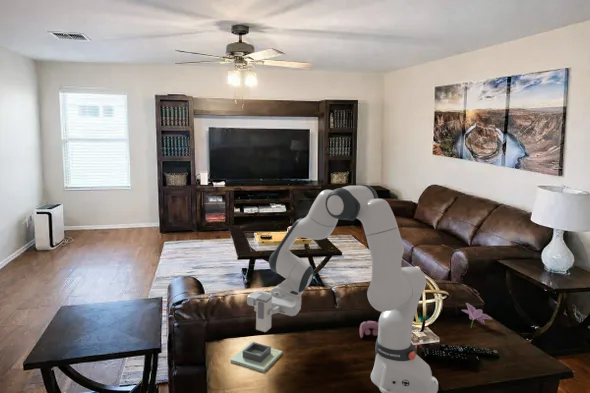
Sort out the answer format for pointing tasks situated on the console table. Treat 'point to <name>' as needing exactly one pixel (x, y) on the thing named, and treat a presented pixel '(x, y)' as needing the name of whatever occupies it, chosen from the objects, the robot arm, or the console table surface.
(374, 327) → the video game controller
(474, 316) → the lily
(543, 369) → the console table surface
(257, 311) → the plug
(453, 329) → the console table surface
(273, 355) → the board
